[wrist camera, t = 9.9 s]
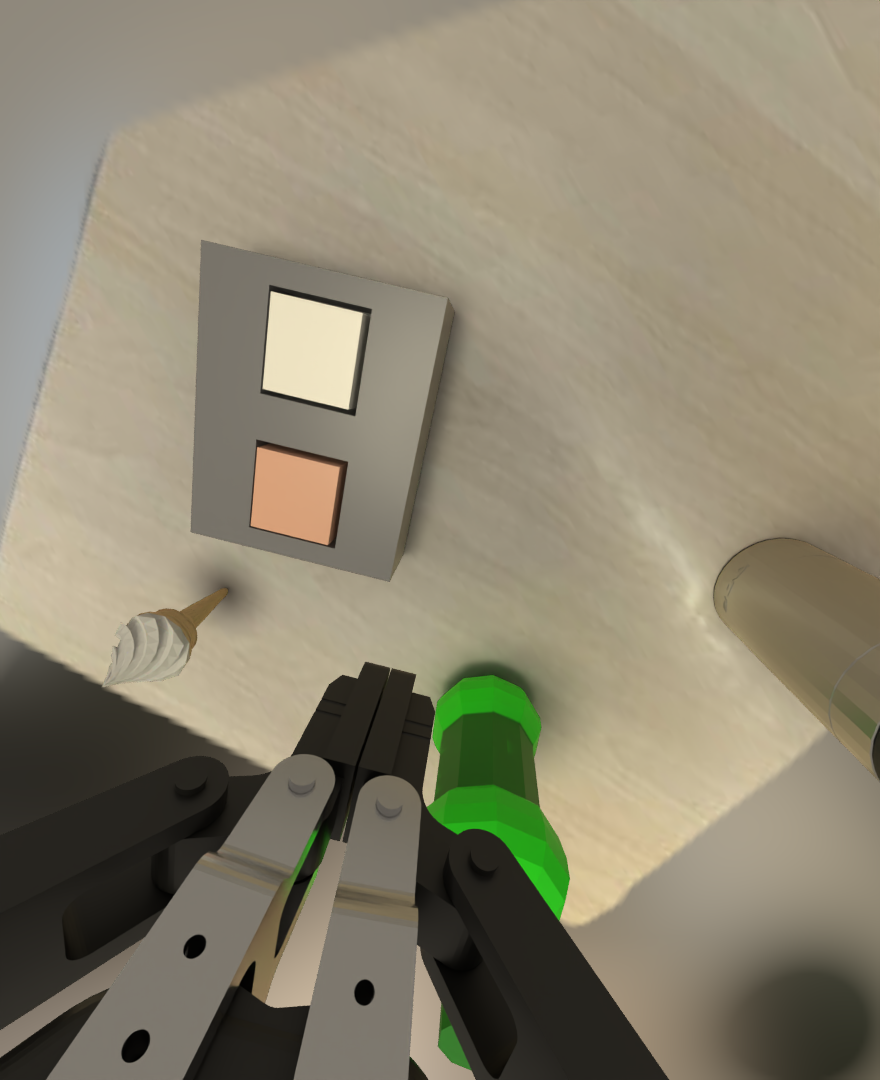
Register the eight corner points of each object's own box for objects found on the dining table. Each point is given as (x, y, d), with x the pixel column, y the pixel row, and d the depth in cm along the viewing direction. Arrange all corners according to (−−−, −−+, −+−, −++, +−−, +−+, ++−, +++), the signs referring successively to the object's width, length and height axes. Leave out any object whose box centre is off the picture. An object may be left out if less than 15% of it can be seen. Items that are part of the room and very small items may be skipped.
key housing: (454, 311, 34) (447, 298, 28) (403, 554, 41) (389, 581, 35) (248, 263, 34) (201, 239, 29) (231, 511, 41) (190, 532, 36)
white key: (374, 319, 32) (362, 313, 29) (360, 407, 34) (348, 409, 31) (290, 299, 32) (270, 291, 29) (281, 388, 34) (262, 388, 31)
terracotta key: (351, 460, 35) (339, 467, 32) (340, 532, 37) (328, 545, 34) (275, 442, 35) (257, 447, 32) (268, 514, 37) (250, 525, 34)
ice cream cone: (196, 607, 45) (63, 709, 31) (200, 555, 43) (58, 640, 29) (251, 621, 45) (142, 731, 31) (256, 571, 43) (143, 663, 29)
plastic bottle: (561, 700, 44) (643, 1063, 21) (485, 758, 47) (481, 1128, 24) (487, 635, 43) (484, 946, 19) (413, 699, 46) (333, 1032, 22)
